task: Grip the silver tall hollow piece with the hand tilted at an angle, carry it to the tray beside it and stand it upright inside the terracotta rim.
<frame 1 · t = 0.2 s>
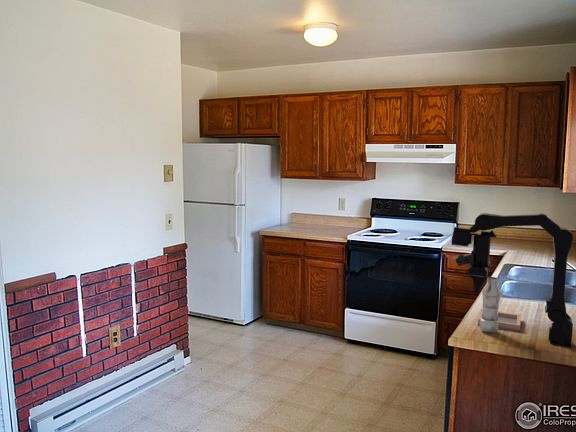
hand: (477, 290, 180), 15 cm above the worktop, tool pointing down, fingers open, 9 cm apart
silver tall hollow piece: (488, 332, 180), on the worktop
tray: (499, 322, 190), on the worktop
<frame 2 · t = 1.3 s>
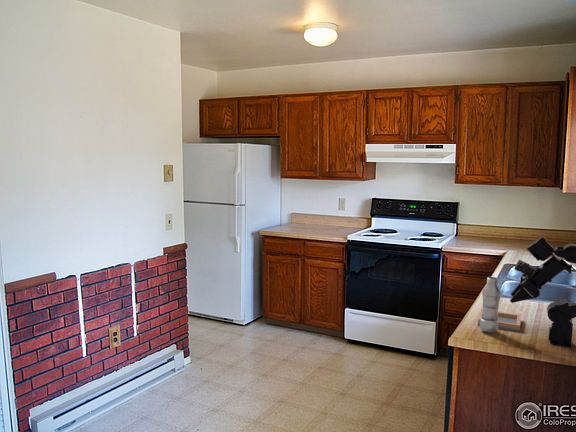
hand: (511, 298, 175), 13 cm above the worktop, tool tilted 45°, fingers open, 9 cm apart
nothing on the worktop moved.
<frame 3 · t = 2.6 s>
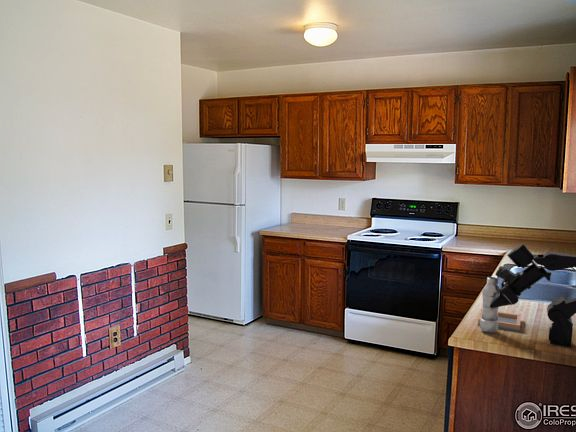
hand: (491, 303, 178), 11 cm above the worktop, tool tilted 45°, fingers open, 9 cm apart
nothing on the worktop moved.
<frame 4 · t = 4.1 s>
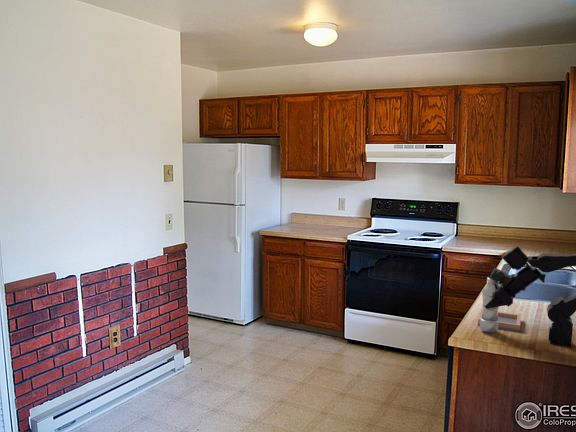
hand: (486, 305, 179), 10 cm above the worktop, tool tilted 45°, fingers closed on silver tall hollow piece, 6 cm apart
silver tall hollow piece: (488, 332, 180), on the worktop, touching gripper
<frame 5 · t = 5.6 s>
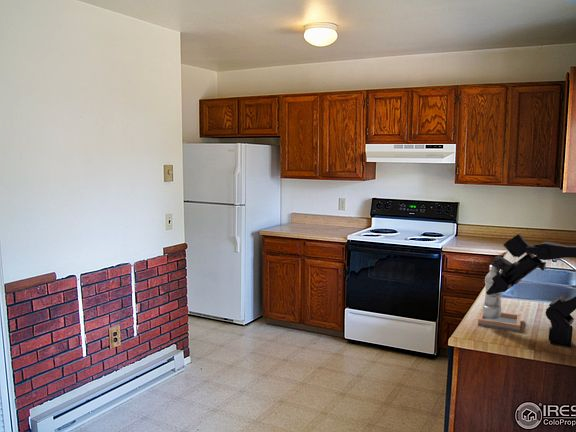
hand: (489, 292, 184), 13 cm above the worktop, tool tilted 45°, fingers closed on silver tall hollow piece, 6 cm apart
silver tall hollow piece: (491, 318, 184), point 4 cm above the worktop, touching gripper
when the fingers open (12 cm above the worktop, at t = 7.5 s): silver tall hollow piece drops 1 cm, resting on tray.
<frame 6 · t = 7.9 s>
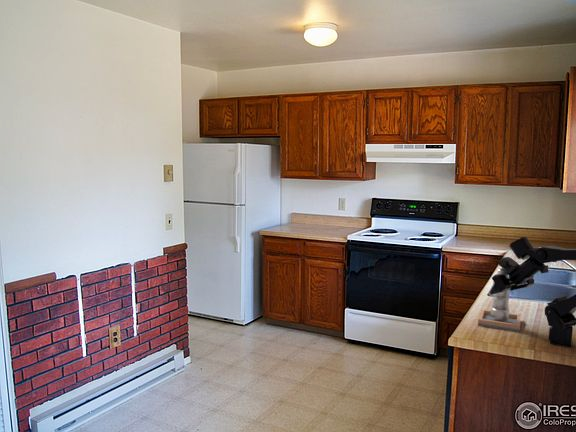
hand: (498, 291, 190), 12 cm above the worktop, tool tilted 45°, fingers open, 9 cm apart
silver tall hollow piece: (499, 321, 190), point 1 cm above the worktop, touching tray
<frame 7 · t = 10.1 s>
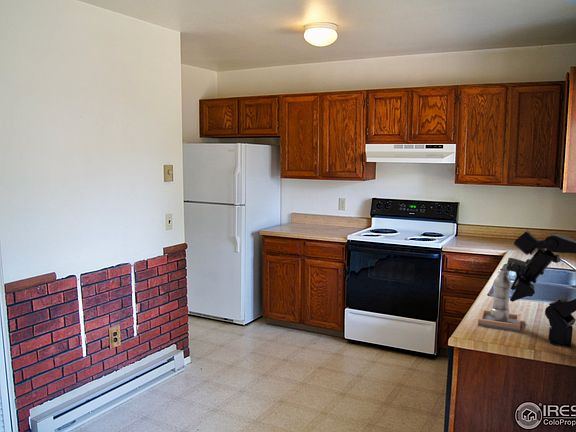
hand: (511, 295, 181), 13 cm above the worktop, tool tilted 30°, fingers open, 9 cm apart
nothing on the worktop moved.
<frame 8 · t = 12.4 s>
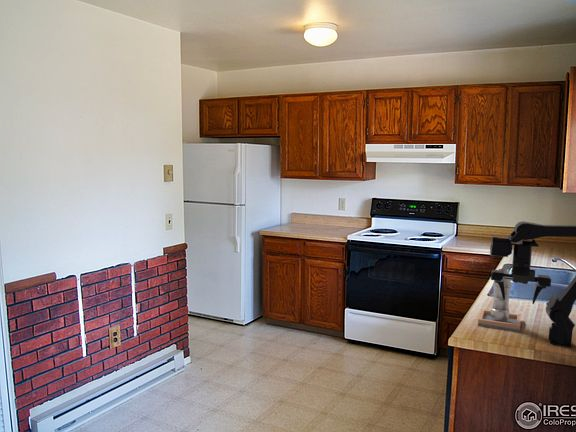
hand: (518, 301, 173), 13 cm above the worktop, tool pointing down, fingers open, 9 cm apart
nothing on the worktop moved.
at the end: silver tall hollow piece 0.0 cm off-centre on the tray, point 0.6 cm above the tray's base; silver tall hollow piece tilted 0°; the gripper is holding nothing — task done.
